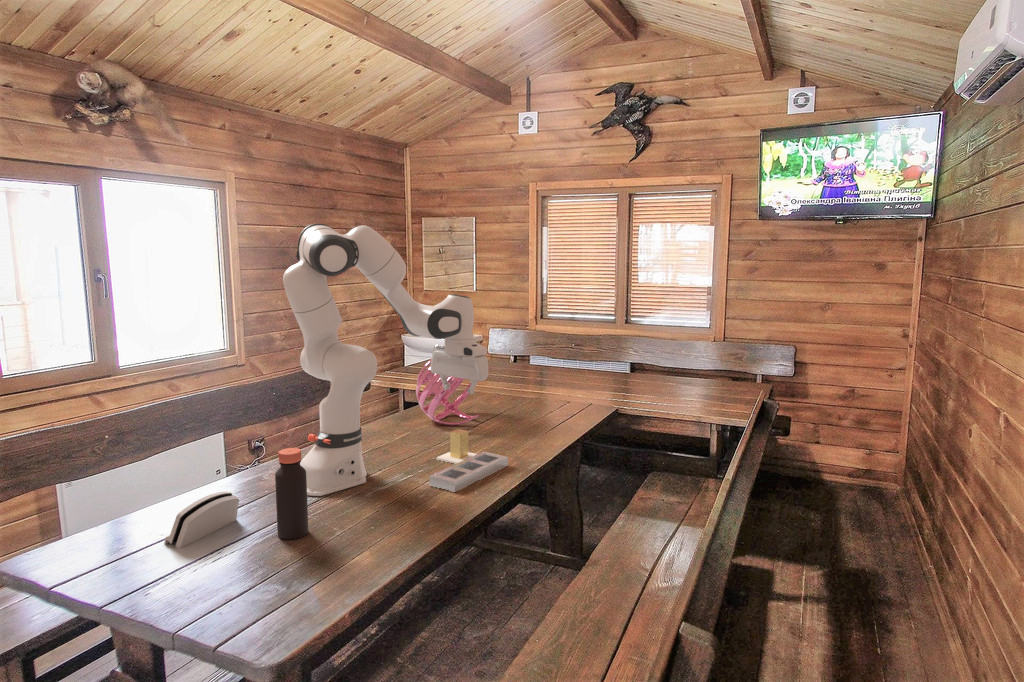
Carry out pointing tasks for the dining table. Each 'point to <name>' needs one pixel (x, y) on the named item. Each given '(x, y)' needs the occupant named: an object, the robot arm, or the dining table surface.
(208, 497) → the napkin holder
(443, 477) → the rail
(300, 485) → the bottle
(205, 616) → the dining table surface
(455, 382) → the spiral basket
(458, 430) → the block
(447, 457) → the pad
